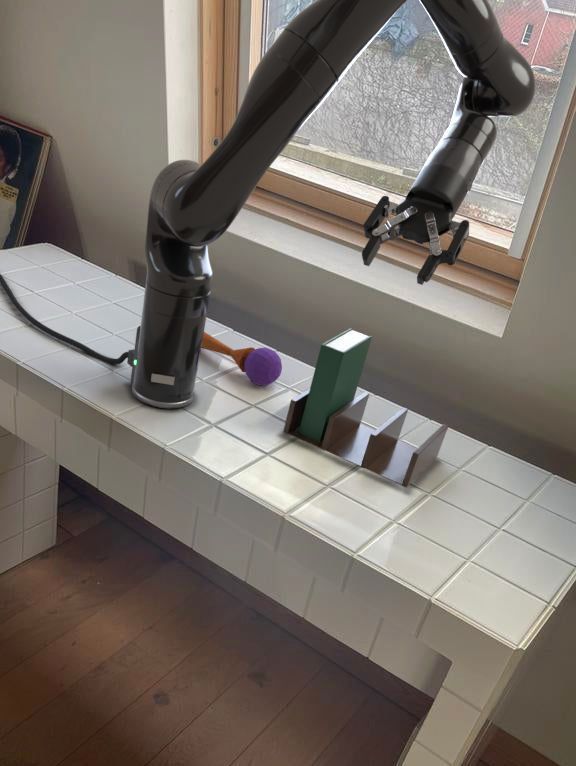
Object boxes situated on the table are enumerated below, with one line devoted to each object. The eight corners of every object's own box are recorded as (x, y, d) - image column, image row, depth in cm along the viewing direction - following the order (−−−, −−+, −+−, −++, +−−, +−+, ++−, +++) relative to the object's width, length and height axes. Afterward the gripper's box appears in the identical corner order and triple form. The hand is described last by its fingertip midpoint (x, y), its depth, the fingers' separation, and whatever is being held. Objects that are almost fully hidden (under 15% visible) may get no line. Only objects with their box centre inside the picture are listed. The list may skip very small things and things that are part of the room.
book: (298, 433, 120) (321, 344, 112) (327, 412, 127) (350, 327, 119) (319, 442, 119) (344, 353, 111) (347, 421, 126) (372, 336, 118)
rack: (282, 436, 120) (290, 399, 117) (318, 410, 129) (328, 376, 126) (405, 491, 113) (418, 454, 109) (435, 461, 121) (448, 425, 118)
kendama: (205, 317, 143) (293, 354, 132) (197, 351, 145) (283, 389, 134) (181, 316, 139) (270, 354, 127) (173, 351, 141) (260, 391, 130)
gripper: (398, 150, 120) (345, 241, 118) (492, 176, 114) (437, 272, 112) (401, 184, 126) (351, 271, 125) (490, 210, 121) (438, 301, 119)
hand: (392, 271), depth 118 cm, fingers open, 8 cm apart
